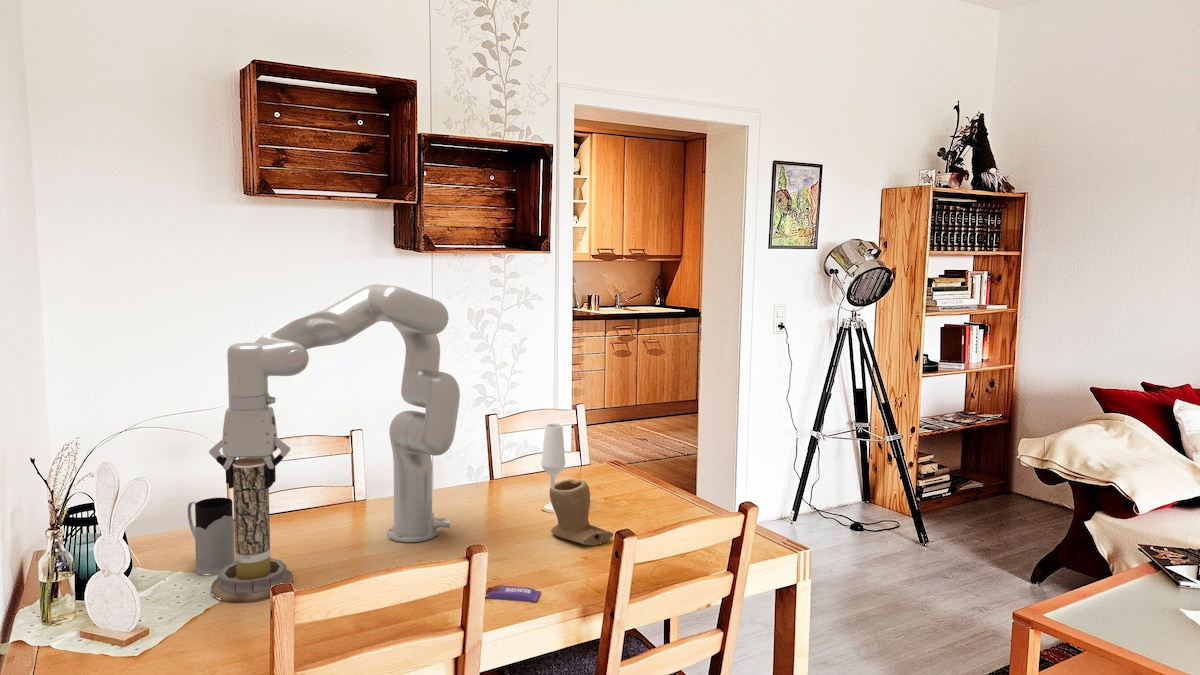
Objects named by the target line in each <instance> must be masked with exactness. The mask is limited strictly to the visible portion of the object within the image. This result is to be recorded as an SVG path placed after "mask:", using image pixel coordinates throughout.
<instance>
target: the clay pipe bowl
mask: <svg viewBox="0 0 1200 675" xmlns="http://www.w3.org/2000/svg"><path fill="white" fill-rule="evenodd" d="M549 499H550V500H551V503H552V506H553V508H554V511H555V513H554V514H555V515H556V518H557V525H555V526H553V527H552V528H551V529H550V533H552V535H554V536H557V537H559V538H562V539H564V540H568V541H571V542H575V543H578V544H581V545H585V546H597V545H596V544H598V545H601V544H604V543H606V542H607V541H609V540H610V539H612V537H614V532H611V531H608V530H605V529H604V528H600V527H597V526H594V525H592V524H590V523H589V522H590V521H589V512H590V507H591V506H590V505H591V491H590V487H589V485H588V483H587V482H586V481H585V480H583V479H579V480H577V479H572V478H569V479H564V480H560V481H558V482H555V484H553V485H552V486H551V485H550V488H549ZM600 543H601V544H600Z"/></svg>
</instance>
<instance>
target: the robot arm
mask: <svg viewBox="0 0 1200 675" xmlns="http://www.w3.org/2000/svg"><path fill="white" fill-rule="evenodd" d="M449 319H450V318H449V312H448V309H447V307H446V306H445V304H443V303H442V302H441V301H439V300H437V299H435V298H431V297H429V296H426V295H423V294H421V293H417V292H415V291H412V290H409V289H407V288H404V287H401V286H397V285H388V284H379V283H378V284H369V285H366V286H364V287H362V288H360V289H359V290H356V291H355V292H353V293H351V294H349V295H348V296H345V297H344V298H343V299H341V300H339V301H337V302H335V303H334V304H332V305H330V306H329V307H326V308H325V309H322V310H320V311H317V312H314V313H311V314H307V315H306V316H302V317H300V318H297V319H294V320H291V321H289V322H287V323H284V324H282V325H279V326H278V327H276V328H275V329H272V330H271V331H269V332H267V333H265V334H264V335H262V336H261V337H259V338H258V339H257V340H256V341H254V342H241V343H240V342H239V343H233V344H231V345H230V346H229V347H228V348H227V351H226V352H227V355H226V356H227V383H228V384H227V386H228V407H227V409H225V414H224V420H223V426H222V439H221V440H220V441H219V442H217V443H216V444H215V445H214V446H212V448H210V449H209V451H208V454H210V456H211V457H213V459H215V460H216V463H218V464H220V466H221V467H222V468H223V470H225V483H226V484H227V486H228V489H232V490H233V461H235V460H237V458H238V459H241V458H246V457H263V459H264V461H265V462H266V464H267V469H266V487H267V488H269V489H270V488H271V487H272V486H273V484H274V483H275V482H276V480H277V477H276V466H278V464H280V462H282V460H284V458H285V457H286V456H287V455H288V454H289V452H290V451H291V450H292V449H291V447H290V446H288V445H287V444H286V443H285V442H284V441H282V440H281V439H280V438H278V430H277V423H276V422H277V421H276V416H275V415H276V414H275V412H274V409H273V407H272V406H270V405H272V404H275V403H276V402H277V401H276V400H277V398H276V397H275V396H271V395H270V392H269V379H268V378H269V377H292V376H297V375H298V374H300V373H302V372H303V371H304V370H305V369H306V368H307V367H308V364H309V362H310V361H309V360H310V358H309V357H310V356H309V353H308V351H307V350H310V349H314V348H319V347H328V346H333V345H338V344H341V343H345V342H347V341H349V340H350V339H352V338H354V337H355V336H357V335H358V334H361V332H363V331H365V330H367V329H368V328H370V327H371V326H373V325H375V324H377V323H378V322H386V323H387V322H388V323H391V324H392V325H393V326H394V328H396V330H397V331H398V332H399V333H400V335H401V337H402V339H403V342H404V345H405V355H404V356H405V359H404V365H403V373H402V380H401V389H400V393H401V397H402V399H403V401H405V403H407V404H409V405H412V406H414V407H418V408H425V412H421V411H417V410H403V411H402V412H399V413H398V414H396V415H395V416H393V417H394V418H392V420H391V423H390V426H389V431H388V432H389V439H390V440H389V441H390V444H391V445H390V446H391V450H392V459H393V525H392V526H390V527H389V528H388V529H387V537H388V538H389V539H390V540H393V541H396V542H401V543H418V542H419V543H420V542H423V541H428V540H430V539H432V538H435V537H436V536H438V535H439V528H443V529H447V528H451V520H450V519H446V517H439V518H437V516H435V512H433V461H432V457H431V456H441V455H444V454H445V453H446V452H447V451H449V450H450V448H451V447H452V444H453V441H454V440H455V439H454V438H455V434H456V427H457V422H458V414H459V413H458V412H459V406H460V395H461V394H460V392H461V391H460V387H459V386H460V385H459V384H458V381H457V379H456V378H455V377H454V376H453V375H451V374H449V373H448V372H444V371H440V360H441V345H440V341H439V337H438V334H440V333H442V332H443V331H444V330H445V329H446V327H447V325H448V322H449ZM221 449H222V452H220V450H221ZM278 449H279V451H280V453H279V454H277V456H276V457H275V455H274V452H276V451H277V450H278Z"/></svg>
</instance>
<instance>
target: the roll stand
mask: <svg viewBox="0 0 1200 675" xmlns="http://www.w3.org/2000/svg"><path fill="white" fill-rule="evenodd" d="M270 562H271V571H270V573H269V575H268V576H266V577H262V578H258V579H253V580H240V579H238V577H237V576H236V562H234V563H232V564H230V565H228V566H225V567H224V568H222V570H221V571H220V572H219V573H218V575H217V578H216V579H215V580H214V581H213V582H212V584H211V586H210V587H211V588H210V589H211V590H210V591H211V595H212V594H213V595H214V596H215V597H217V598H220V599H221V600H222V601H221V602H224V603H232V604H246V603H248V604H249V603H253V602H260V601H265V600H269V599H271V598H270V588H271V586H273V585H277V584H280V583H292V584H294V574H293V573H292V572H291V571H290V570H289V569H287V565H286V563H285V562H284V561H283V560H281V559H276V558H271V557H270Z"/></svg>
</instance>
